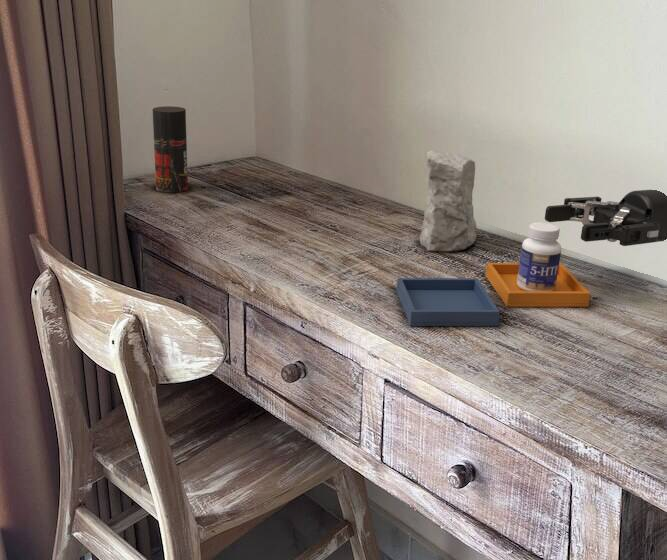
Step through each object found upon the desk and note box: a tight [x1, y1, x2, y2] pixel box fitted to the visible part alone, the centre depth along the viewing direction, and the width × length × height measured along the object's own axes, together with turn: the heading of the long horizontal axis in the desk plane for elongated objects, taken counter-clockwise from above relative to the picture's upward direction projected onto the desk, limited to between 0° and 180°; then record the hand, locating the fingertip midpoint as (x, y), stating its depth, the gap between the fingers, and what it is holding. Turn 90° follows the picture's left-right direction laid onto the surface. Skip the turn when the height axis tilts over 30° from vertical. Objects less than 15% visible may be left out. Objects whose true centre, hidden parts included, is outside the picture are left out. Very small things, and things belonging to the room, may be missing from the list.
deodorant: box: [152, 105, 189, 194], centre depth 152 cm, size 6×6×15 cm
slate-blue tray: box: [396, 277, 501, 327], centre depth 106 cm, size 11×11×2 cm
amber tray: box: [484, 262, 591, 308], centre depth 113 cm, size 11×11×2 cm
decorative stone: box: [419, 149, 477, 253], centre depth 128 cm, size 10×9×15 cm
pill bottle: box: [517, 221, 562, 291], centre depth 112 cm, size 5×5×9 cm
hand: (564, 223), depth 111 cm, fingers open, 8 cm apart
